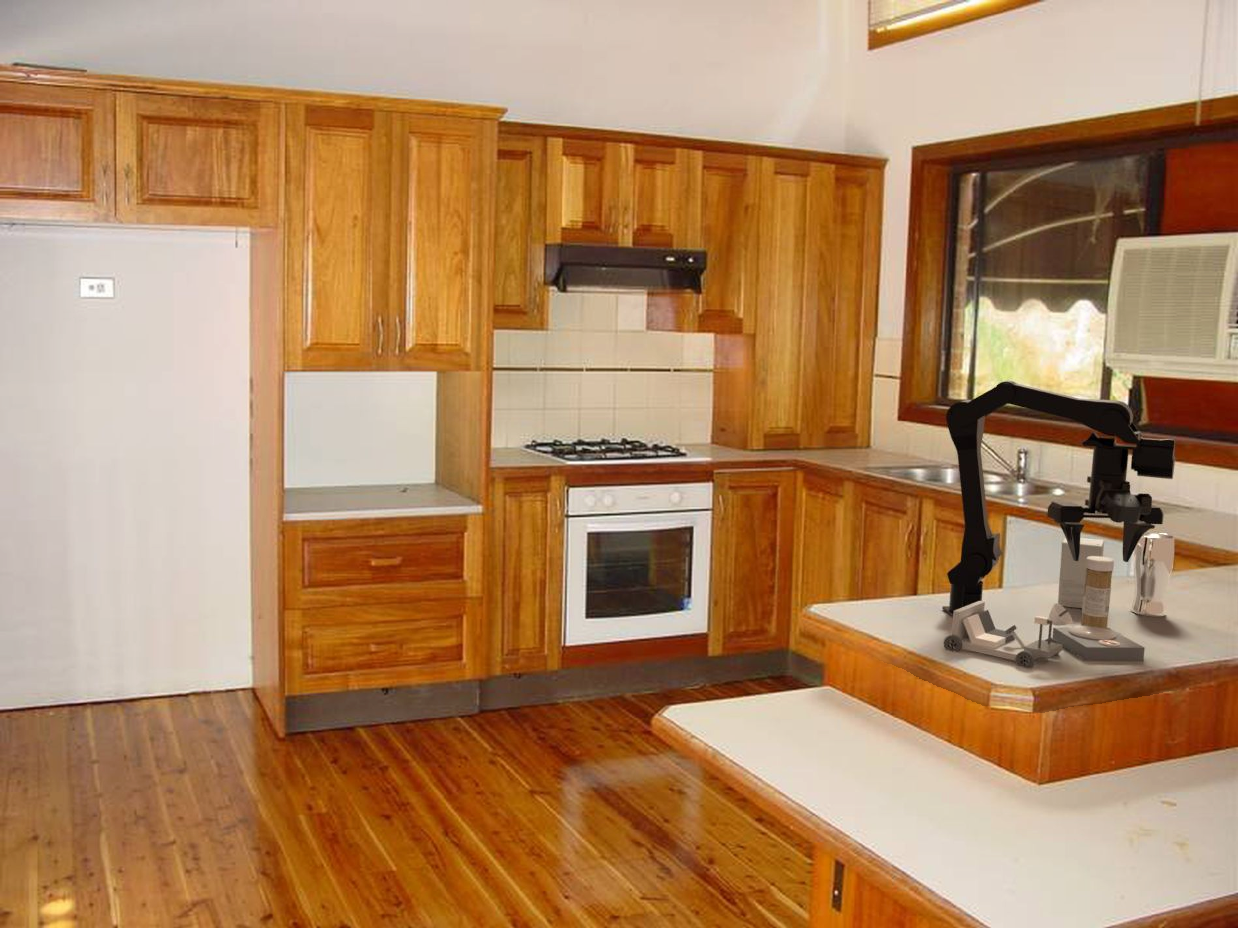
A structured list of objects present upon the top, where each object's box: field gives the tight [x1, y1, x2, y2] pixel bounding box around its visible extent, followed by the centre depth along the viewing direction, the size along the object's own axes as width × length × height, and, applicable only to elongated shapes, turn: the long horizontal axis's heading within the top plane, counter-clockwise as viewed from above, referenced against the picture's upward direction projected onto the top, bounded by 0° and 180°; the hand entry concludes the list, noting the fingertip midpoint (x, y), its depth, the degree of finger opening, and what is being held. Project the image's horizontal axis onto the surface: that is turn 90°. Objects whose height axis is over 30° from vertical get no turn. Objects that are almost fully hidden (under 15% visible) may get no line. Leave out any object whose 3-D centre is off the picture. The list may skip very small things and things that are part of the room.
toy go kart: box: [943, 600, 1073, 670], centre depth 206 cm, size 18×10×12 cm
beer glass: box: [1130, 531, 1175, 618], centre depth 237 cm, size 7×7×15 cm
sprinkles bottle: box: [1080, 556, 1115, 628], centre depth 221 cm, size 5×5×13 cm
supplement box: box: [1057, 536, 1105, 609], centre depth 242 cm, size 7×7×13 cm
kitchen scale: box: [1052, 625, 1146, 662], centre depth 210 cm, size 12×10×3 cm
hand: (1100, 561), depth 220 cm, fingers open, 9 cm apart
